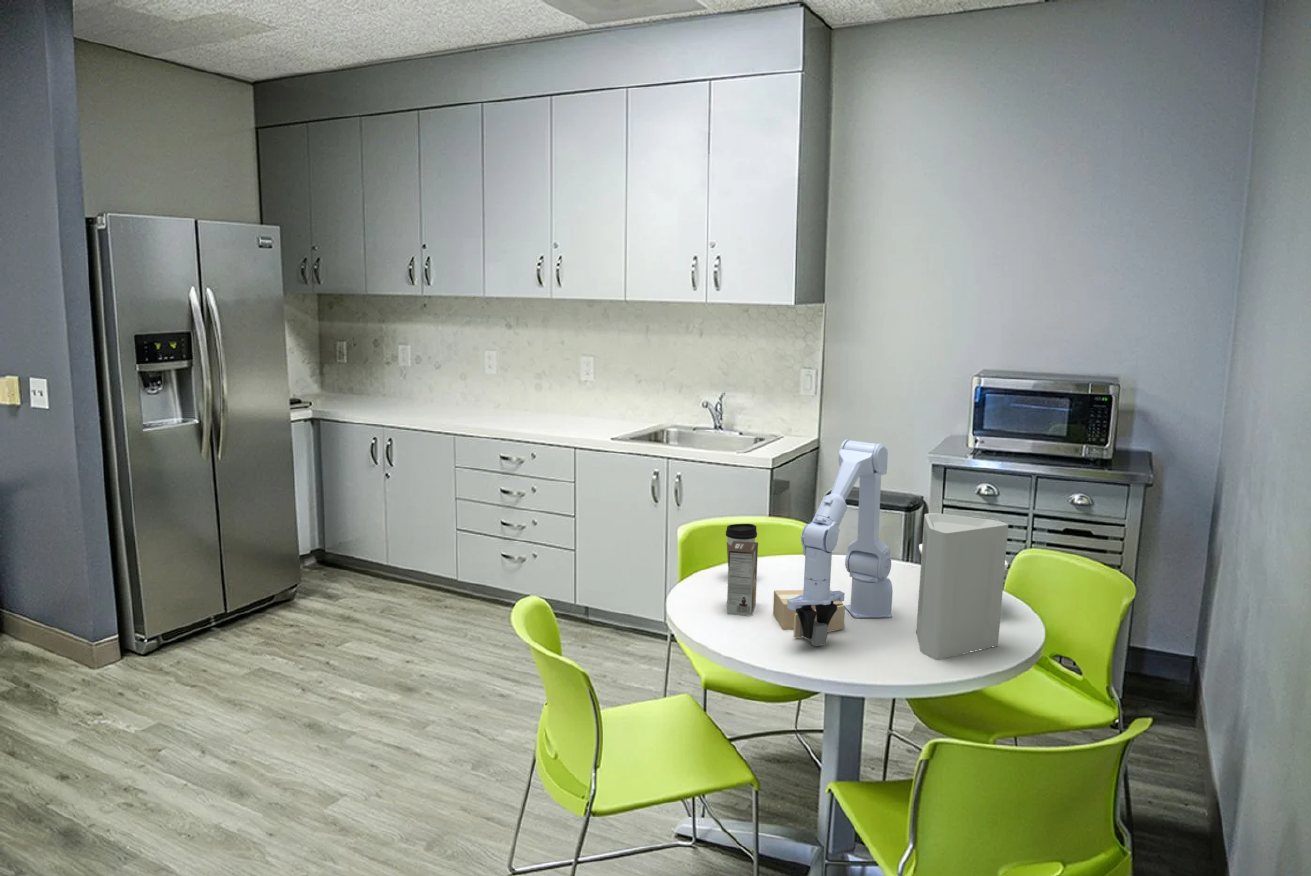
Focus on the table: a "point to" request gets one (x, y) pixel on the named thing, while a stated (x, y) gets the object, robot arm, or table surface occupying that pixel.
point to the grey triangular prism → (960, 584)
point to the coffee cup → (740, 534)
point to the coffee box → (742, 578)
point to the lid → (821, 627)
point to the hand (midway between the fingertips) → (814, 635)
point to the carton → (781, 610)
